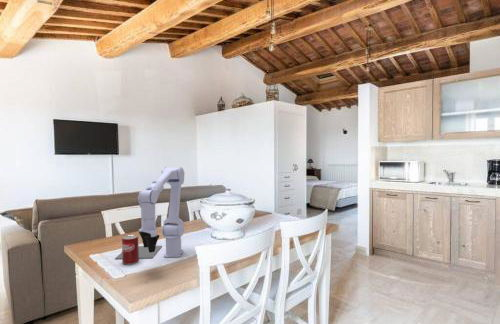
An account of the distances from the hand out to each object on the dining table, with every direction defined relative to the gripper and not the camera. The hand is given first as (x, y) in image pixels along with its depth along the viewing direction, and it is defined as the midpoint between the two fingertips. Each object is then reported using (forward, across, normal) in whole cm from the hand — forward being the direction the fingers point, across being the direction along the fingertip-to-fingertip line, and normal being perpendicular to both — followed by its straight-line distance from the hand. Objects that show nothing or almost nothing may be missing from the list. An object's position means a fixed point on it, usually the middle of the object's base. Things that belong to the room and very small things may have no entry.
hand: (149, 249), depth 125 cm
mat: (+10, -29, +3) cm, 31 cm away
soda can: (+10, -18, -4) cm, 21 cm away
